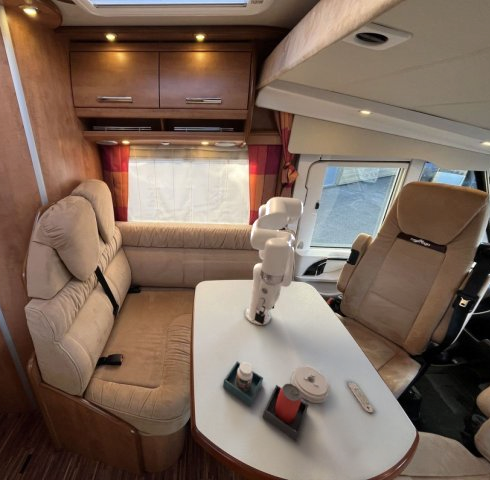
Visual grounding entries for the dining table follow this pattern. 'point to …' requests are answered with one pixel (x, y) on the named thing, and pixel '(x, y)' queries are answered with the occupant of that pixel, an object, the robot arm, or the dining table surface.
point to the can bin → (287, 428)
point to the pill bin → (231, 387)
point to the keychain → (360, 397)
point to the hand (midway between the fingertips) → (264, 314)
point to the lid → (310, 384)
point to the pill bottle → (244, 376)
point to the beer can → (288, 403)
